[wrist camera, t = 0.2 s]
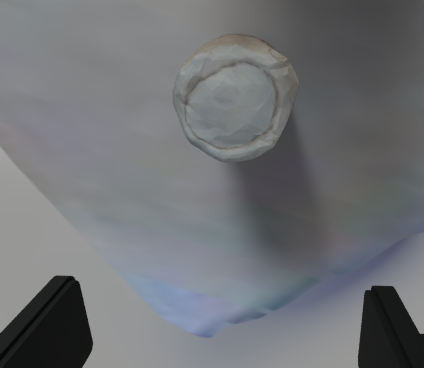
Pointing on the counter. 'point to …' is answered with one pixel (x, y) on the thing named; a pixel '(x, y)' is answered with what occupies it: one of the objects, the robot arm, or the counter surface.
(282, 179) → the counter surface
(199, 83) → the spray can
